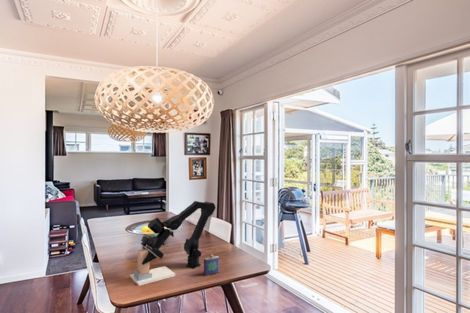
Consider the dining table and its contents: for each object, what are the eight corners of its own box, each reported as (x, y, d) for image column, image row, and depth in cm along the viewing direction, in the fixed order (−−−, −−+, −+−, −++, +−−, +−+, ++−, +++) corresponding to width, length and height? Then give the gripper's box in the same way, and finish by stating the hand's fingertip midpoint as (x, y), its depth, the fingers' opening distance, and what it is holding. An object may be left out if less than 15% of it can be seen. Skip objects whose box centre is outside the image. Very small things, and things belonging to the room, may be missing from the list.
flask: (217, 271, 166) (217, 252, 166) (220, 272, 164) (220, 253, 163) (203, 274, 161) (203, 255, 161) (205, 276, 159) (205, 256, 159)
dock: (164, 268, 169) (165, 260, 169) (175, 275, 159) (175, 268, 159) (130, 276, 157) (130, 269, 157) (138, 285, 147) (138, 277, 147)
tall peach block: (146, 272, 158) (146, 248, 158) (149, 275, 155) (149, 250, 154) (137, 274, 155) (137, 250, 155) (140, 277, 152) (140, 252, 151)
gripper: (144, 226, 164) (124, 249, 158) (157, 233, 150) (136, 260, 143) (157, 237, 169) (138, 260, 163) (172, 246, 155) (151, 272, 148)
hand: (140, 263), depth 154 cm, fingers closed on tall peach block, 4 cm apart
